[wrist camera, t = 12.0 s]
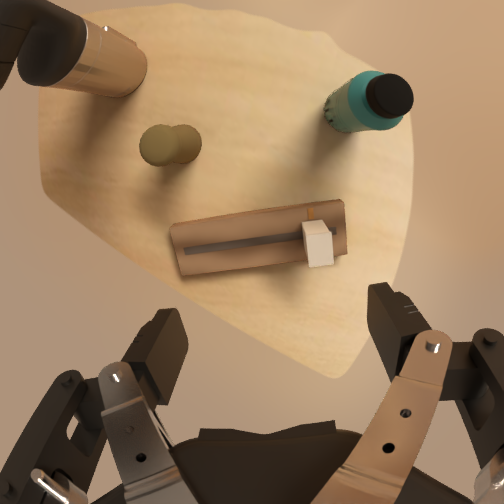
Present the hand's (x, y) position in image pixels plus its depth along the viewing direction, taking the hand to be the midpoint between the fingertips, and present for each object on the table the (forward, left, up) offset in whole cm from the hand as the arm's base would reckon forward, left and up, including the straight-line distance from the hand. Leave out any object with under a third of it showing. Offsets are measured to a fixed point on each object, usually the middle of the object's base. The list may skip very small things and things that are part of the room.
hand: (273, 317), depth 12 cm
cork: (-9, -12, -33) cm, 37 cm away
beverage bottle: (-10, +12, -33) cm, 37 cm away
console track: (+7, -3, -33) cm, 34 cm away
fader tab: (+7, +5, -30) cm, 32 cm away
